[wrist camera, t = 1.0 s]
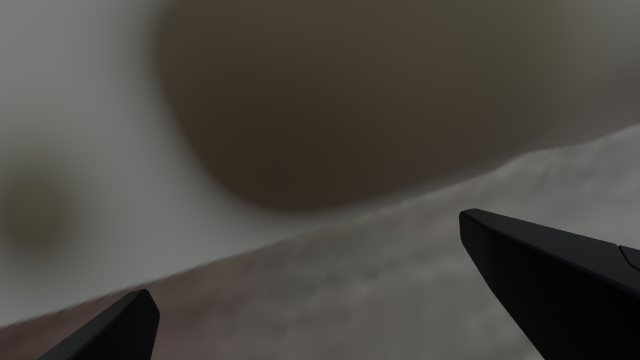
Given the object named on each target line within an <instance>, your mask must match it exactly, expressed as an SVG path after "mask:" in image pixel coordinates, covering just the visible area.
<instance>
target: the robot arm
mask: <svg viewBox="0 0 640 360" xmlns="http://www.w3.org/2000/svg"><path fill="white" fill-rule="evenodd" d="M459 224H460V237H461V241H462V244H463V246H464V247H465V249H466V251H467V252H468V254H469V255H470V257H471V259H472V260H473V262H474V264H475V265H476V267H477V269H478V270H479V272H480V273H481V275H482V277H483V278H484V280H485V282H486V283H487V285H488V286H489V288H490V289H491V291H492V292H493V293H494V295H495V296H496V297H497V299H498V300H499V301H500V303H501V304H502V305H503V307H504V308H505V309H506V310H507V312H508V313H509V314H510V316H511V317H512V318H513V319H514V321H515V322H516V323H517V325H518V326H519V327H520V328H521V330H522V331H523V332H524V334H525V335H526V336H527V337H528V339H529V340H530V341H531V343H532V344H533V345H534V346H535V348H536V349H537V350H538V352H539V353H540V354H541V355H542V357H543V358H544V359H545V360H640V250H637V249H634V248H630V247H626V246H622V245H620V246H617V245H616V244H614V243H610V242H606V241H602V240H598V239H594V238H590V237H586V236H582V235H578V234H574V233H570V232H566V231H562V230H558V229H555V228H551V227H547V226H543V225H539V224H535V223H531V222H527V221H523V220H519V219H515V218H511V217H507V216H503V215H499V214H495V213H492V212H488V211H484V210H480V209H476V208H473V209H468V210H464V211H461V212H460V214H459ZM159 320H160V313H159V310H158V308H157V306H156V304H155V302H154V300H153V298H152V296H151V295H150V293H149V291H148V290H146V289H139V290H135V291H131V292H129V293H128V294H126V295H125V296H123V297H122V298H121V299H119V300H118V301H117V302H115V303H114V304H112V305H111V306H110V307H108V308H107V309H106V310H104V311H103V312H101V313H100V314H99V315H97V316H96V317H94V318H93V319H92V320H90V321H89V322H88V323H86V324H85V325H83V326H82V327H81V328H79V329H78V330H77V331H75V332H74V333H72V334H71V335H70V336H68V337H67V338H65V339H64V340H63V341H61V342H60V343H59V344H57V345H56V346H54V347H53V348H52V349H50V350H49V351H48V352H46V353H45V354H43V355H42V356H41V357H39V358H38V359H36V360H151V355H152V351H153V347H154V342H155V338H156V333H157V329H158V324H159Z"/></svg>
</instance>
